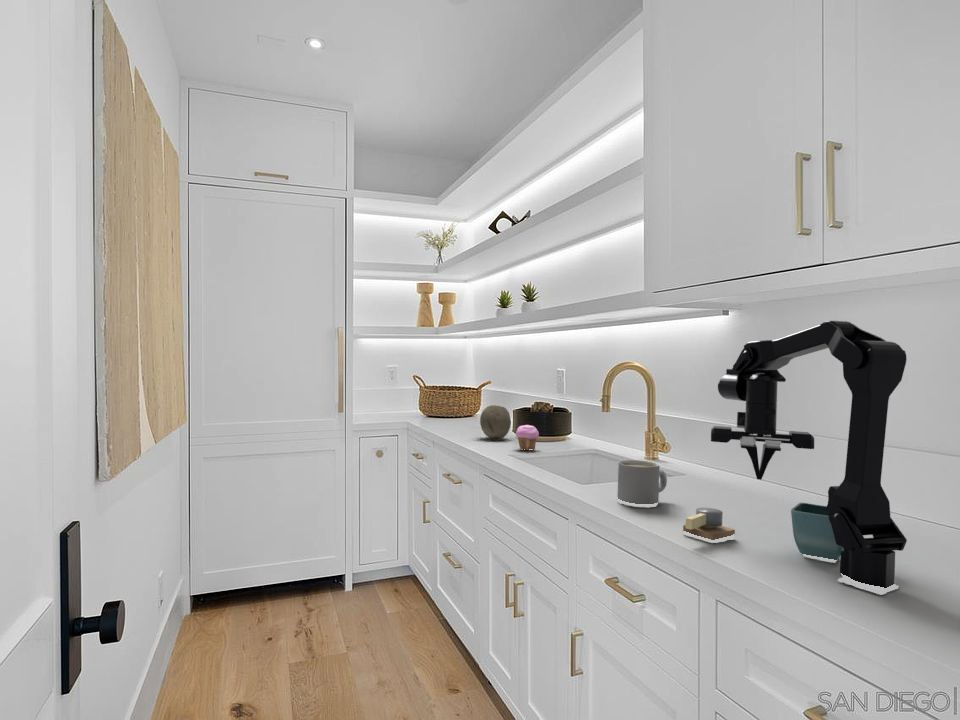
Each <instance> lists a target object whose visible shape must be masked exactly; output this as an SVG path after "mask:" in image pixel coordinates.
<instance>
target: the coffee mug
mask: <svg viewBox="0 0 960 720" xmlns="http://www.w3.org/2000/svg"><path fill="white" fill-rule="evenodd" d="M617 463H618V466H617V467H618V469H617V471H618V472H617V495H616V496H617V497H618V499H620V500H622V501H625V502H629V503H635V504H654V503H657V502H658V503H659V498H660V497H659V495H660V494H659V493H662V492H663V491H664V490H665V488H666V487H667V485H668V484H667V483H668V477H667V473H666V472H665V471H664V470H663V469H661V468H660V464H659V463H657V462H654V461H649V460H640V459H623V460H619V461H618V462H617Z"/></svg>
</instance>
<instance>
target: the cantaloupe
mask: <svg viewBox="0 0 960 720" xmlns="http://www.w3.org/2000/svg"><path fill="white" fill-rule="evenodd" d="M479 424H480V429H481V430H482V432H483V434H484V435H485V436H486V437H488V438H489V439H491V440H493V439H494V440H493V441H499V440H498V439H500V440H502V439H503V438H505V437H506V436H507V435H508V433H509V431H510V429H511V426H512V420H511V416H510V412H509V411H508V409H507V408H506V407H504V406H501V405H489V406H486V407H485V408H484V409H483V410H482V412H481V415H480V418H479Z"/></svg>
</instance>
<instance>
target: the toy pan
mask: <svg viewBox="0 0 960 720" xmlns="http://www.w3.org/2000/svg"><path fill="white" fill-rule="evenodd" d="M685 525H686V529H690V530H692V529H695V528H697V527H700V526H703V525H705V526H713V527H717V526H723V511H722V510H720V509H718V508H711V507H697V508H696V509H695V514H693V515H691V516H690V515H689V516H688V517H685Z"/></svg>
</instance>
